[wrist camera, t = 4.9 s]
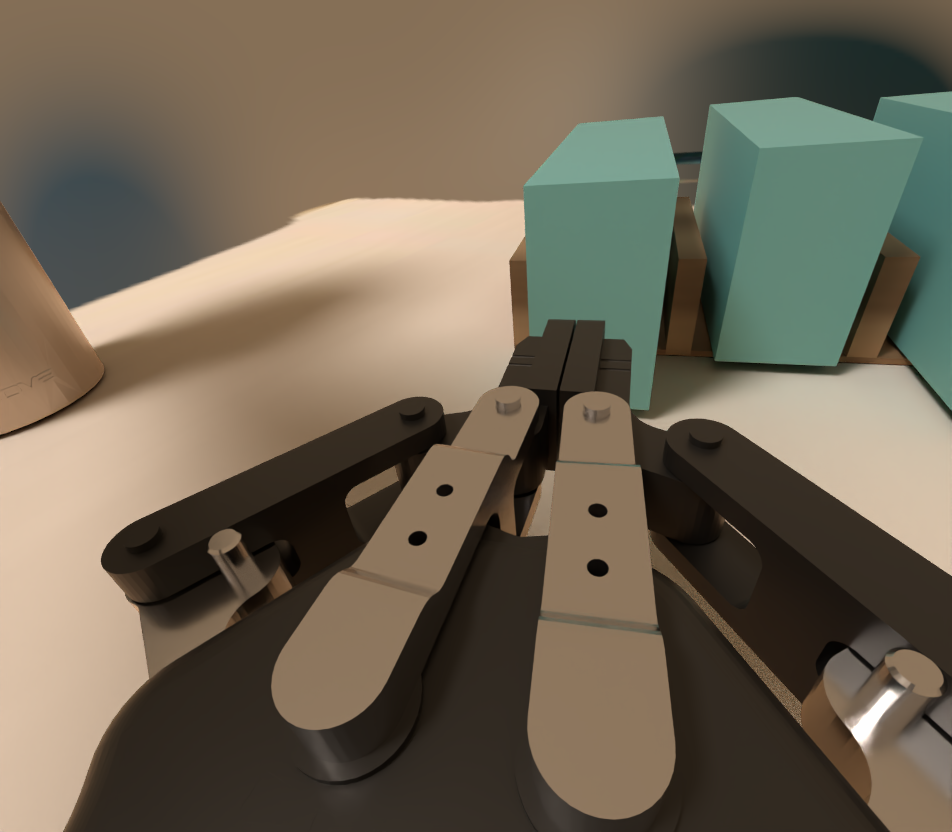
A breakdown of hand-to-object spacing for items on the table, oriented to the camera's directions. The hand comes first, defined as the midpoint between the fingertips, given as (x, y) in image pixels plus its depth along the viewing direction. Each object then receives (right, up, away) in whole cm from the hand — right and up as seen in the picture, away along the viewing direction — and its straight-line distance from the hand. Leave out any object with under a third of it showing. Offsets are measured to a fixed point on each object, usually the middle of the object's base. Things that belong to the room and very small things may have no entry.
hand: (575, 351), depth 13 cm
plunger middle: (+13, +5, +16) cm, 22 cm away
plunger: (+5, +3, +15) cm, 16 cm away
